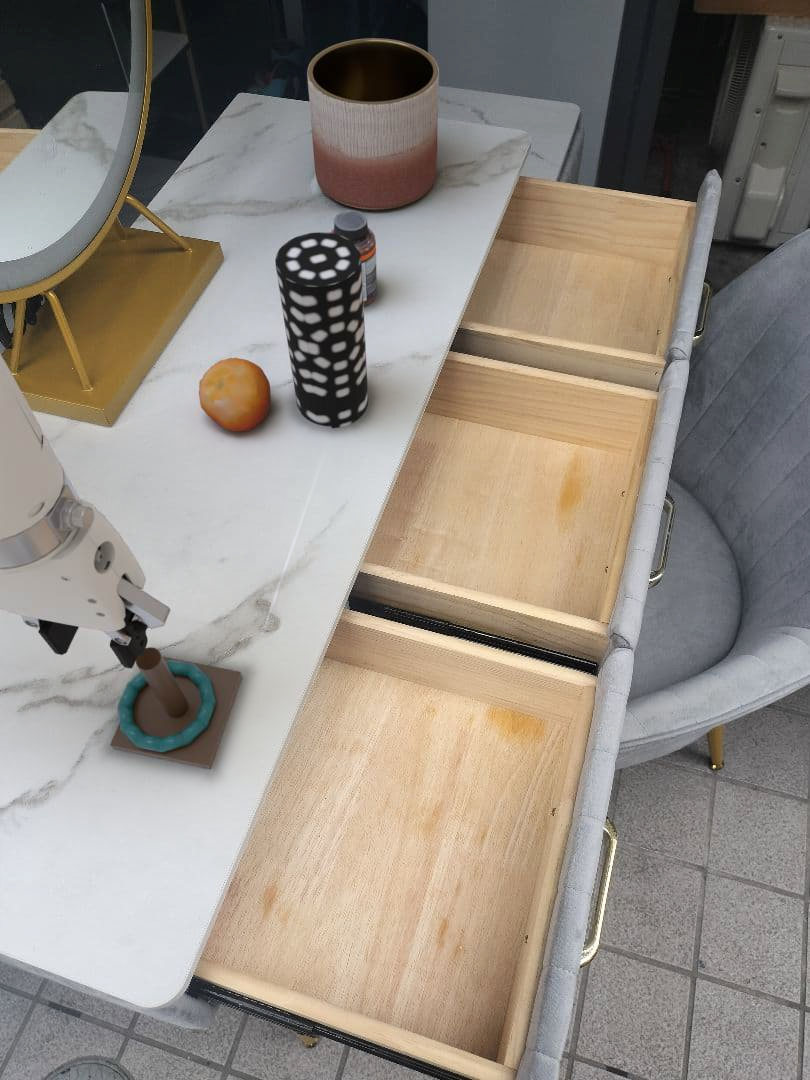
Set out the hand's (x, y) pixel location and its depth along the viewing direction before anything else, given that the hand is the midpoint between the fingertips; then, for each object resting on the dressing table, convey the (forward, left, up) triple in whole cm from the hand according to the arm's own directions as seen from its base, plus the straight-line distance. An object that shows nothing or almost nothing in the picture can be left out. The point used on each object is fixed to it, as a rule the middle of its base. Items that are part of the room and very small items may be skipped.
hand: (101, 643), depth 64 cm
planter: (+3, +85, -13) cm, 86 cm away
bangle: (+3, 0, -11) cm, 11 cm away
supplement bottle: (+6, +59, -13) cm, 61 cm away
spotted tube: (+8, +40, -13) cm, 43 cm away
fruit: (-2, +36, -13) cm, 38 cm away
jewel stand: (+4, 0, -12) cm, 13 cm away
